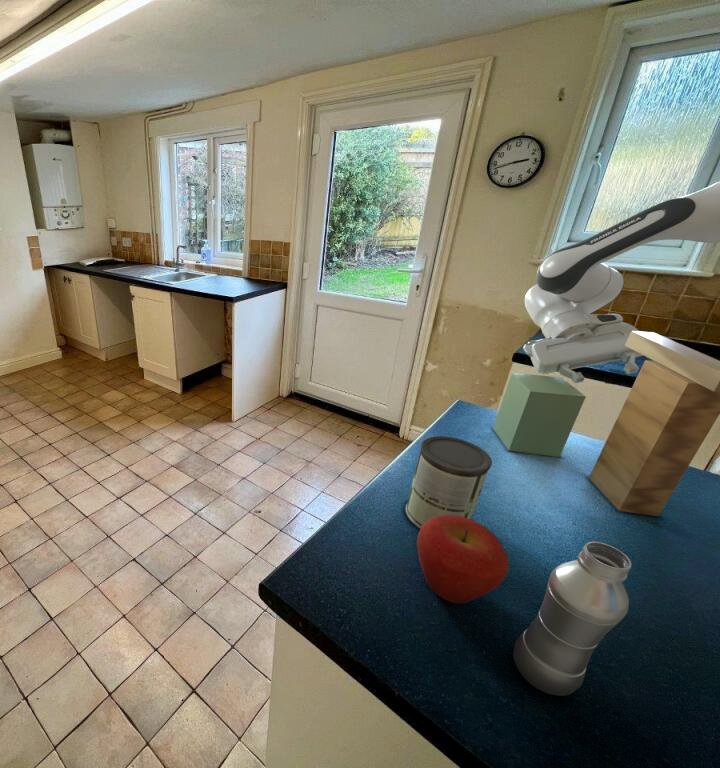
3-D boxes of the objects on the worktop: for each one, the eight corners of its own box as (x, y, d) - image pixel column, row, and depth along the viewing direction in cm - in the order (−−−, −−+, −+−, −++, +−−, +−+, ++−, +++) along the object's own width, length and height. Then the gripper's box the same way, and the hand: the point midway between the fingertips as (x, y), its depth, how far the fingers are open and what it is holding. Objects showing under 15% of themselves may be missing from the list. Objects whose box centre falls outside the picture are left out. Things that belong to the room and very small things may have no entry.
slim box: (646, 347, 80) (653, 332, 78) (743, 394, 61) (755, 376, 60) (624, 345, 80) (631, 330, 79) (713, 391, 62) (724, 373, 61)
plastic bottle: (495, 657, 52) (550, 539, 44) (534, 641, 54) (595, 525, 46) (546, 712, 47) (621, 590, 38) (588, 693, 49) (669, 572, 40)
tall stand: (623, 482, 83) (686, 363, 72) (658, 516, 75) (736, 386, 64) (588, 477, 85) (645, 359, 74) (618, 511, 76) (688, 382, 65)
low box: (539, 433, 100) (561, 377, 94) (559, 457, 91) (586, 396, 85) (492, 428, 102) (511, 372, 96) (508, 450, 94) (530, 391, 87)
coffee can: (400, 494, 80) (415, 432, 74) (459, 503, 78) (479, 439, 72) (410, 533, 71) (428, 465, 65) (476, 544, 69) (502, 475, 63)
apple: (489, 641, 54) (519, 576, 49) (401, 602, 59) (419, 540, 54) (489, 579, 63) (514, 518, 58) (412, 550, 68) (428, 492, 63)
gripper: (522, 334, 98) (552, 377, 89) (628, 312, 92) (672, 355, 83) (518, 352, 103) (546, 395, 93) (619, 332, 96) (659, 375, 87)
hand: (606, 376), depth 88 cm, fingers open, 8 cm apart
